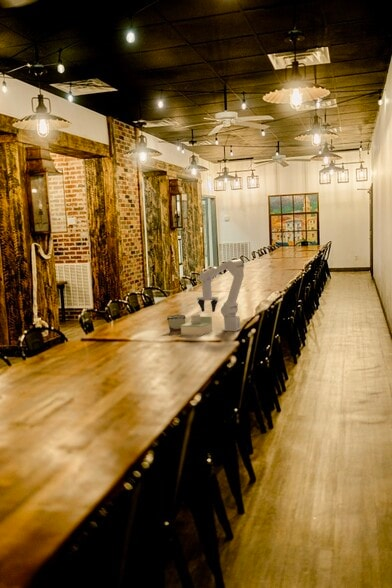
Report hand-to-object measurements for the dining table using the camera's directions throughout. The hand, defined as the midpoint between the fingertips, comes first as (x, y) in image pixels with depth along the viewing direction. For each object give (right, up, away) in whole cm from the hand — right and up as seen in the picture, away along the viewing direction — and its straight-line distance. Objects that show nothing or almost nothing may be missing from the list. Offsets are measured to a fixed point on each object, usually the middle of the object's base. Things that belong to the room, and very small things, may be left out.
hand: (208, 311), depth 353 cm
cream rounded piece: (-8, -7, -13) cm, 17 cm away
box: (-7, -13, -12) cm, 19 cm away
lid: (-8, -8, -13) cm, 17 cm away
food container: (-19, -13, -3) cm, 23 cm away
